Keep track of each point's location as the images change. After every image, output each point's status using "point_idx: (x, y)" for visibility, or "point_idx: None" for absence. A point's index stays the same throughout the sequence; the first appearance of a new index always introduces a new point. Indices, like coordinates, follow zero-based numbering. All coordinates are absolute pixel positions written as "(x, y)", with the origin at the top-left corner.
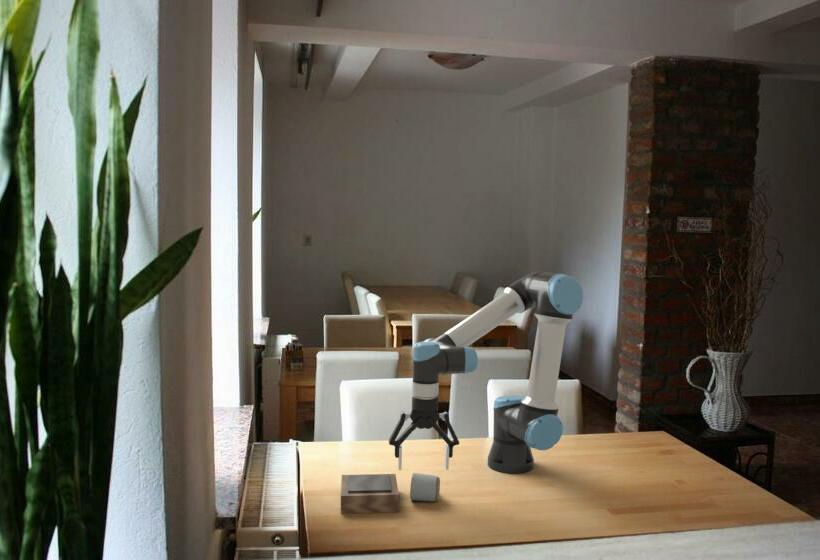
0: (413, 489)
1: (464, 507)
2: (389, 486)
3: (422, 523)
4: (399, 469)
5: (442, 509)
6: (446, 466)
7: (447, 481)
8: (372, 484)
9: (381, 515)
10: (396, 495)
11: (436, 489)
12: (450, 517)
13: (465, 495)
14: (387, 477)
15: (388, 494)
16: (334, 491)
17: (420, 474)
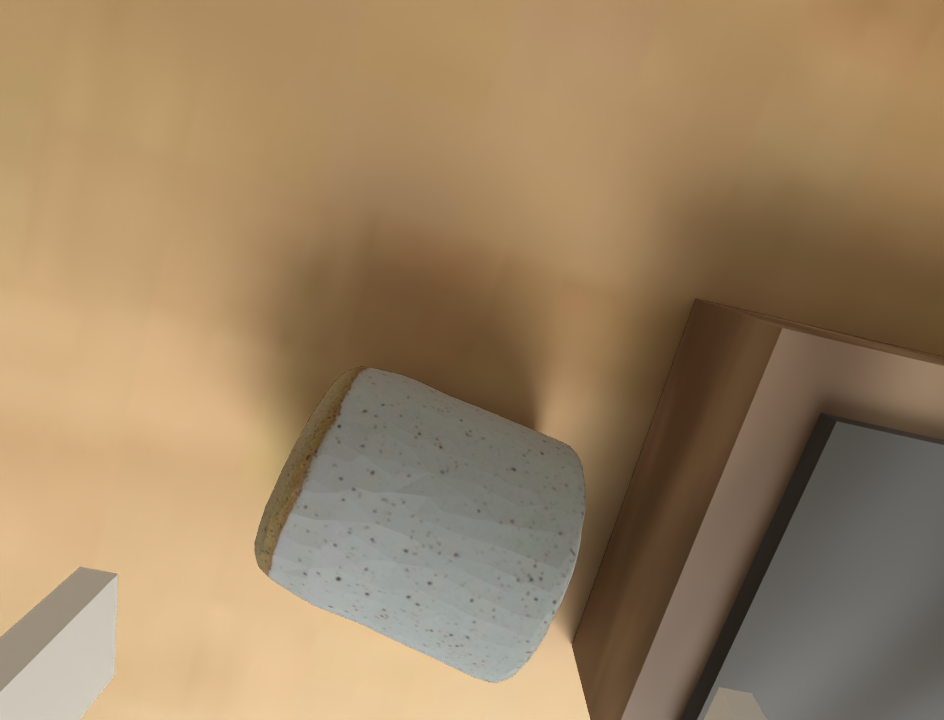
0: (558, 457)
1: (162, 237)
2: (809, 506)
3: (601, 16)
4: (745, 697)
5: (350, 250)
6: (73, 608)
7: (188, 688)
8: (933, 588)
9: (840, 277)
10: (798, 331)
11: (345, 387)
12: (329, 68)
13: (107, 450)
14: None
15: (877, 358)
16: None
17: (459, 613)
